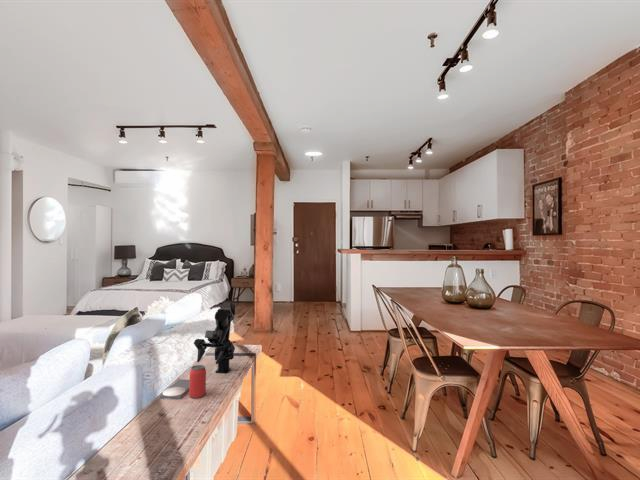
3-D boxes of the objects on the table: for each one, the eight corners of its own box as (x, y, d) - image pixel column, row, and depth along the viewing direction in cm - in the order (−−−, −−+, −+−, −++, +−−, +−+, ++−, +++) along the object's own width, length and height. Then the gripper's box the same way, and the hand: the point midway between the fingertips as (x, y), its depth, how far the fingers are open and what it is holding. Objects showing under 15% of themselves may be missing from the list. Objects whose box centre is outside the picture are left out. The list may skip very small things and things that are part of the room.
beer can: (195, 400, 140) (196, 370, 140) (185, 396, 144) (186, 367, 144) (208, 394, 146) (209, 366, 146) (198, 391, 149) (199, 363, 150)
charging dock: (178, 381, 159) (178, 378, 159) (197, 382, 159) (197, 379, 159) (158, 399, 140) (158, 395, 141) (179, 399, 140) (180, 396, 140)
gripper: (196, 321, 159) (181, 351, 148) (232, 324, 155) (219, 355, 144) (205, 334, 167) (191, 364, 156) (240, 337, 163) (228, 368, 151)
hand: (206, 362), depth 151 cm, fingers open, 9 cm apart
